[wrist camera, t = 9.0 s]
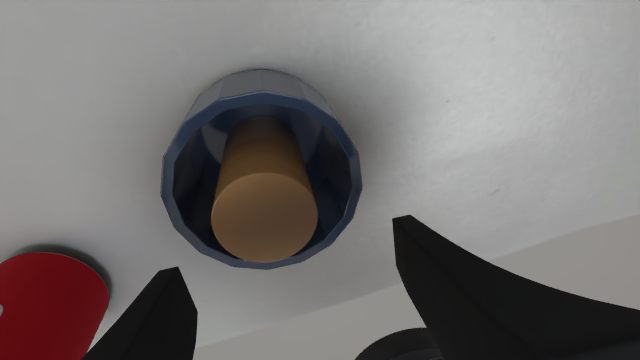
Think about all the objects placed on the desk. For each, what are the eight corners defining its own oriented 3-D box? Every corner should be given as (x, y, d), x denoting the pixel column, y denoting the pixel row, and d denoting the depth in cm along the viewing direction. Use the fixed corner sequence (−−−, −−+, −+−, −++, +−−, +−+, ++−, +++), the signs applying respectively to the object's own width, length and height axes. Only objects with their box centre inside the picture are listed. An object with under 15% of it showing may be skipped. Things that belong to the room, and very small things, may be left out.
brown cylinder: (305, 176, 21) (325, 250, 15) (235, 191, 21) (227, 272, 15) (291, 108, 20) (308, 162, 13) (215, 123, 19) (196, 186, 13)
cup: (348, 198, 23) (370, 247, 19) (208, 228, 23) (197, 286, 18) (327, 54, 19) (349, 73, 15) (158, 86, 19) (127, 116, 14)
